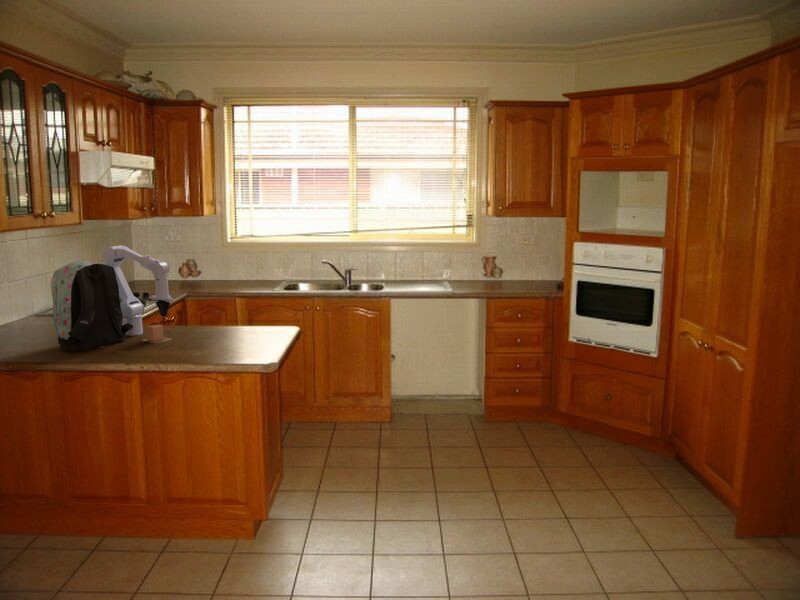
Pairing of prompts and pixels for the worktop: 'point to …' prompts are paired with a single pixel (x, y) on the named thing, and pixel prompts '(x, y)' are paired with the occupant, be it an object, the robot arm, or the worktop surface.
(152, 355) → the worktop surface
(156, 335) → the pink rectangular block
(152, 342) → the board
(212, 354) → the worktop surface
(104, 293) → the backpack
